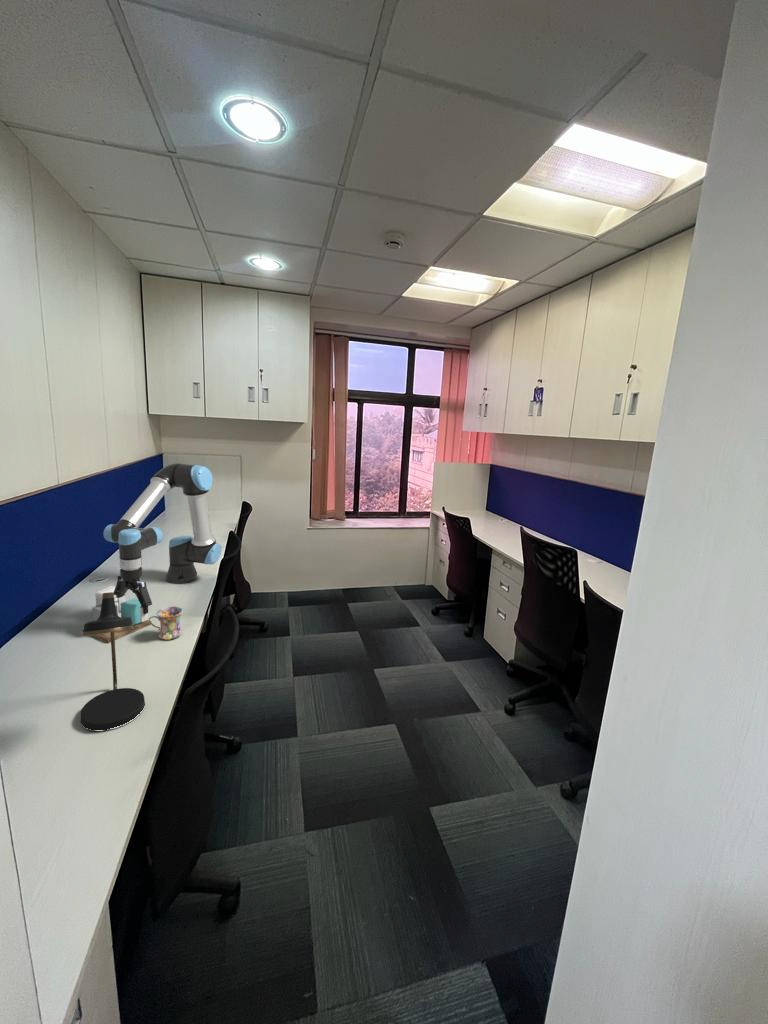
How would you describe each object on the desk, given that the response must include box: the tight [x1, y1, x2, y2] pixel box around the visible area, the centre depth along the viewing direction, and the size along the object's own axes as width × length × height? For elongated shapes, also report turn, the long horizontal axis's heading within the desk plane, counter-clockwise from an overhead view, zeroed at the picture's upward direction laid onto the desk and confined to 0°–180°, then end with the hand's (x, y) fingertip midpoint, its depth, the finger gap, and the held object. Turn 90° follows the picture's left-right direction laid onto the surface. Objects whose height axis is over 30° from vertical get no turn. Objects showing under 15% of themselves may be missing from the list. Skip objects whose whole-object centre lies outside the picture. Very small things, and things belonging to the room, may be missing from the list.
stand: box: [90, 604, 152, 644], centre depth 166 cm, size 18×12×11 cm, turn 156°
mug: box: [148, 606, 184, 640], centre depth 164 cm, size 12×9×11 cm
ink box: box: [94, 585, 120, 615], centre depth 176 cm, size 9×5×12 cm, turn 168°
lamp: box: [79, 592, 146, 730], centre depth 120 cm, size 16×22×38 cm
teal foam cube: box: [120, 597, 141, 625], centre depth 169 cm, size 6×6×8 cm
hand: (133, 616), depth 169 cm, fingers open, 13 cm apart
